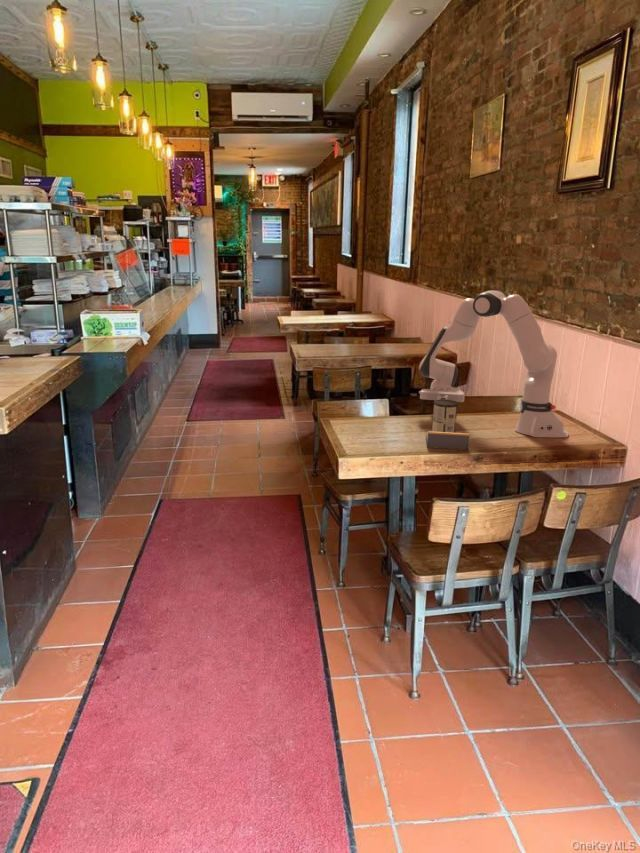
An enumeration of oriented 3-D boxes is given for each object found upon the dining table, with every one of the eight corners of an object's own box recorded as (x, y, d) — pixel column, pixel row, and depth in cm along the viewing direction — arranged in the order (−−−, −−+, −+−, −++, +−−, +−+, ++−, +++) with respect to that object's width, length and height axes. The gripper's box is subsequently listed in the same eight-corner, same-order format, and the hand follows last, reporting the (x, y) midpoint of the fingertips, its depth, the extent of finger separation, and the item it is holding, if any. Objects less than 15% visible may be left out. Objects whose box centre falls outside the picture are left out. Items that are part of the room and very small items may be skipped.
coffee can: (439, 428, 282) (442, 398, 279) (459, 433, 276) (462, 402, 272) (426, 433, 275) (429, 401, 271) (447, 438, 268) (450, 406, 265)
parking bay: (464, 440, 265) (466, 425, 263) (468, 450, 252) (469, 434, 250) (425, 438, 267) (426, 423, 265) (426, 447, 254) (428, 432, 252)
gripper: (419, 384, 296) (420, 390, 283) (463, 387, 294) (466, 394, 281) (418, 397, 298) (419, 404, 285) (461, 400, 296) (464, 407, 282)
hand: (443, 399), depth 283 cm, fingers closed
